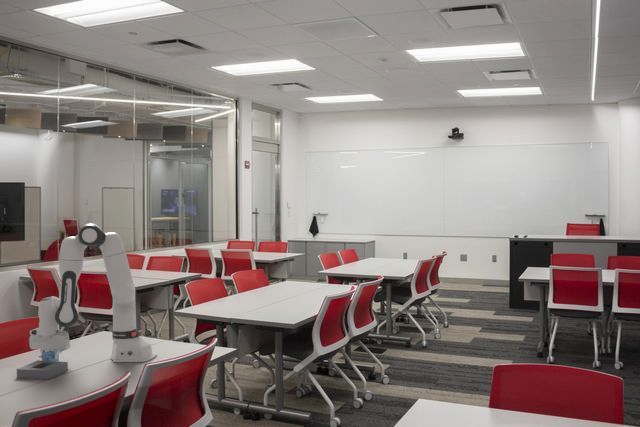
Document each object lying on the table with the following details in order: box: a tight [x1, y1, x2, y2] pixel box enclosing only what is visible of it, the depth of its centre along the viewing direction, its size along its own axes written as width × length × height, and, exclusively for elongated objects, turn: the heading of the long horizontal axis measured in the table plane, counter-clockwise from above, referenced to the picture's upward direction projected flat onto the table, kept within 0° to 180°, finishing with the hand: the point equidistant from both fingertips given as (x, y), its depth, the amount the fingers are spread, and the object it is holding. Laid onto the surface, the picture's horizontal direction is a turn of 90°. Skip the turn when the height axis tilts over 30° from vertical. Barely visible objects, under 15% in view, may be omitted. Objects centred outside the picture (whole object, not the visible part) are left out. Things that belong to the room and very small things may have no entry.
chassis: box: [16, 359, 69, 381], centre depth 269 cm, size 16×14×4 cm
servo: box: [38, 349, 62, 362], centre depth 284 cm, size 4×11×7 cm, turn 168°
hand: (50, 358), depth 284 cm, fingers closed on servo, 4 cm apart
